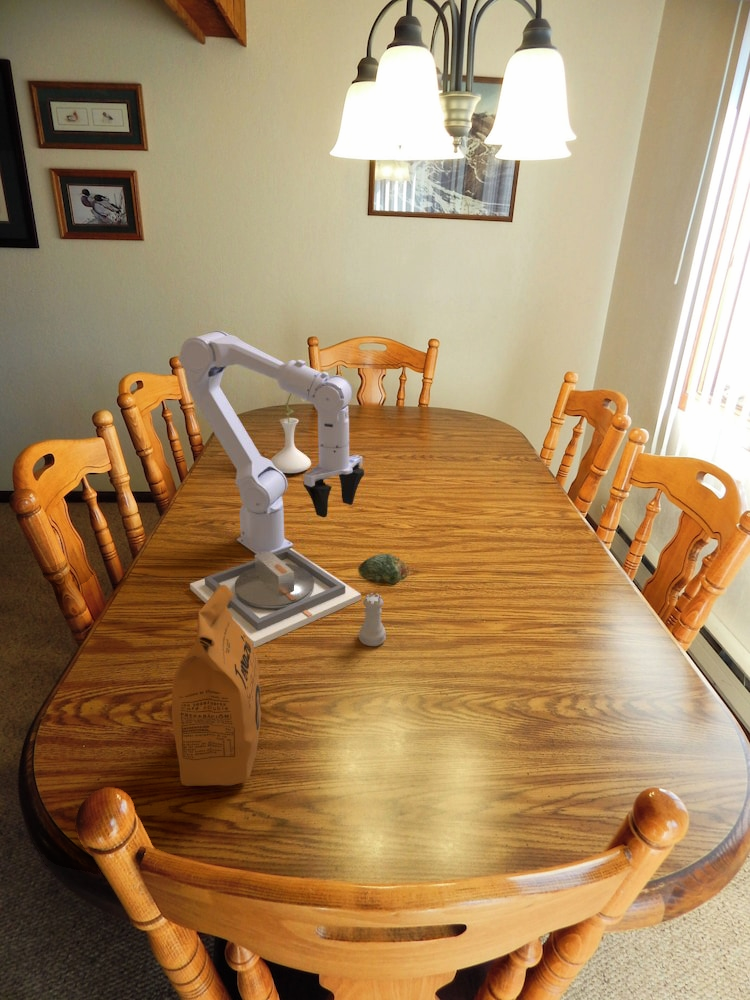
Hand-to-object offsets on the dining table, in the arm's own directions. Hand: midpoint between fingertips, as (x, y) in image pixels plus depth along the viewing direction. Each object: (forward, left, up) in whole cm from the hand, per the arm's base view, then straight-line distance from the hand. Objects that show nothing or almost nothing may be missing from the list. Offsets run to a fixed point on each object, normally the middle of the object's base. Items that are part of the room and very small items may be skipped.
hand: (334, 509), depth 122 cm
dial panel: (+5, -17, -10) cm, 21 cm away
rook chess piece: (+26, -12, -11) cm, 30 cm away
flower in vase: (-46, +21, -11) cm, 52 cm away
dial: (+5, -17, -9) cm, 20 cm away
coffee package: (+32, -42, -11) cm, 54 cm away
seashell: (+11, +4, -11) cm, 16 cm away
